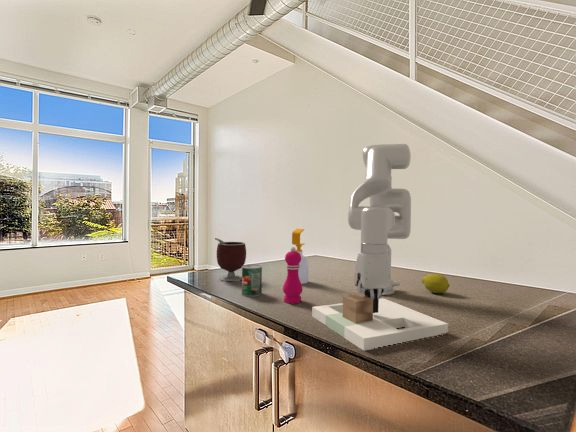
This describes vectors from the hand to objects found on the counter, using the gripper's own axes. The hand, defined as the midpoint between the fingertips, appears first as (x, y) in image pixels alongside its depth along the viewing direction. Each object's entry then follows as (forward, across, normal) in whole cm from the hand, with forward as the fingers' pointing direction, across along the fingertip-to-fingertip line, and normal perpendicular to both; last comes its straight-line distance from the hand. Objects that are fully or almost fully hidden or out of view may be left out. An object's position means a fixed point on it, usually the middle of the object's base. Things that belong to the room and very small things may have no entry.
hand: (372, 311), depth 97 cm
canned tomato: (+4, +22, -46) cm, 52 cm away
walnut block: (+1, +6, +1) cm, 6 cm away
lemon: (+4, -48, -21) cm, 53 cm away
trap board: (+4, -1, 0) cm, 4 cm away
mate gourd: (+4, +24, -76) cm, 79 cm away
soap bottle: (+4, -4, -58) cm, 58 cm away
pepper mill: (+4, +12, -31) cm, 34 cm away
